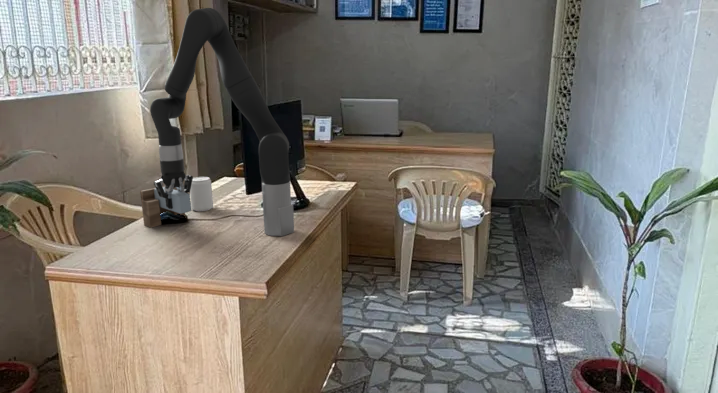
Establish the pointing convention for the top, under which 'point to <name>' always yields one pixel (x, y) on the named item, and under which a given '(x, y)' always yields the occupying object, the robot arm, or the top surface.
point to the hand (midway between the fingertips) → (176, 206)
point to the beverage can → (201, 194)
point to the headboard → (152, 208)
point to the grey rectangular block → (176, 201)
